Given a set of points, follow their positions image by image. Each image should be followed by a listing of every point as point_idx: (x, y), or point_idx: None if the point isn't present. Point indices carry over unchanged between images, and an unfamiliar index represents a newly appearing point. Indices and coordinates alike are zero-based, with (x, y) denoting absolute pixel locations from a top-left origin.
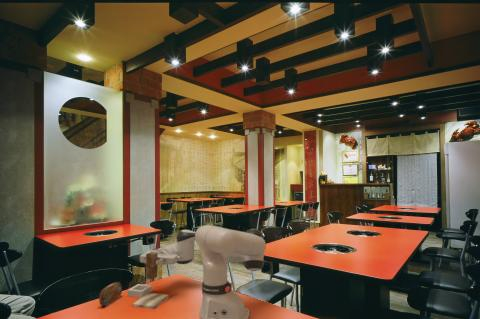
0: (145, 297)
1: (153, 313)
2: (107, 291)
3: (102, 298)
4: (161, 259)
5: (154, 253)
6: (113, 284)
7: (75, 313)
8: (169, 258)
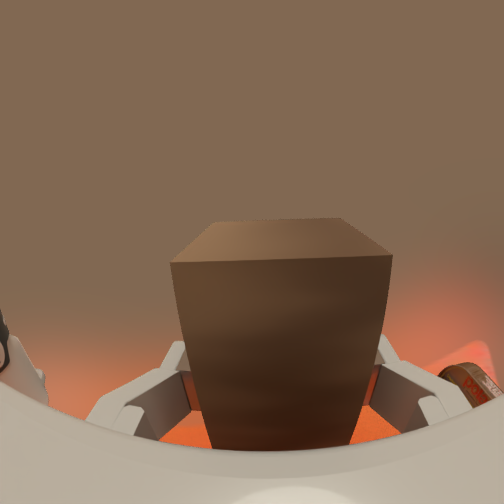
0: None
1: (201, 431)
2: (462, 383)
3: (439, 375)
4: (117, 392)
5: (219, 235)
6: (493, 398)
7: (452, 358)
8: (1, 383)
